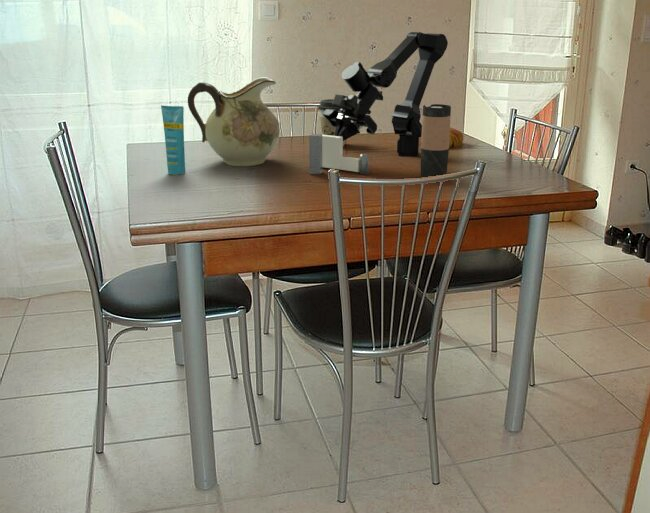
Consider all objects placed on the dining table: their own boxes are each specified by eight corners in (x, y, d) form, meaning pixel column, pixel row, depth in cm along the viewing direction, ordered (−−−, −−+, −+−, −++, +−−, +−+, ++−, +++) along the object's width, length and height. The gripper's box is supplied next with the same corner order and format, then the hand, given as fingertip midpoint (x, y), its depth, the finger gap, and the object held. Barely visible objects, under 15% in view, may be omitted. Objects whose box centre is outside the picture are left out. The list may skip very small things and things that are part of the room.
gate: (361, 170, 209) (361, 139, 206) (357, 172, 207) (358, 140, 204) (321, 165, 216) (321, 134, 213) (317, 166, 215) (317, 135, 212)
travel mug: (446, 182, 197) (450, 108, 190) (418, 181, 199) (421, 107, 192) (447, 176, 204) (451, 104, 198) (420, 175, 206) (423, 103, 199)
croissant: (418, 154, 245) (418, 131, 241) (423, 140, 258) (423, 118, 255) (462, 155, 241) (462, 132, 238) (464, 140, 255) (465, 118, 251)
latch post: (322, 172, 209) (322, 134, 206) (319, 174, 206) (319, 135, 203) (312, 171, 210) (312, 133, 206) (309, 173, 207) (309, 135, 204)
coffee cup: (311, 146, 247) (310, 101, 242) (328, 141, 256) (328, 97, 251) (339, 149, 241) (340, 103, 237) (356, 144, 251) (357, 100, 246)
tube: (161, 174, 207) (156, 106, 201) (169, 170, 211) (164, 103, 205) (184, 176, 205) (180, 107, 198) (192, 172, 209) (188, 105, 203)
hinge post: (368, 172, 209) (368, 153, 207) (368, 174, 206) (368, 155, 204) (360, 172, 209) (360, 153, 207) (359, 174, 206) (359, 155, 205)
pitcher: (295, 161, 223) (293, 78, 214) (237, 174, 206) (232, 85, 198) (247, 152, 237) (243, 74, 229) (189, 164, 221) (182, 80, 213)
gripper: (327, 81, 216) (299, 122, 213) (370, 86, 203) (341, 130, 200) (347, 105, 224) (319, 145, 221) (390, 112, 210) (361, 154, 207)
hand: (334, 143), depth 212 cm, fingers closed
